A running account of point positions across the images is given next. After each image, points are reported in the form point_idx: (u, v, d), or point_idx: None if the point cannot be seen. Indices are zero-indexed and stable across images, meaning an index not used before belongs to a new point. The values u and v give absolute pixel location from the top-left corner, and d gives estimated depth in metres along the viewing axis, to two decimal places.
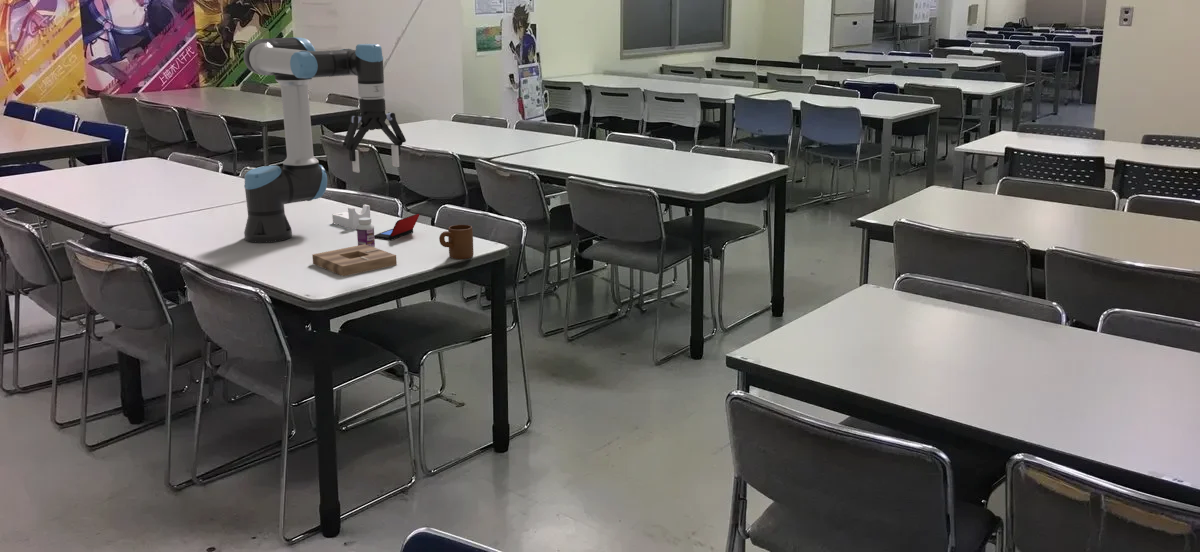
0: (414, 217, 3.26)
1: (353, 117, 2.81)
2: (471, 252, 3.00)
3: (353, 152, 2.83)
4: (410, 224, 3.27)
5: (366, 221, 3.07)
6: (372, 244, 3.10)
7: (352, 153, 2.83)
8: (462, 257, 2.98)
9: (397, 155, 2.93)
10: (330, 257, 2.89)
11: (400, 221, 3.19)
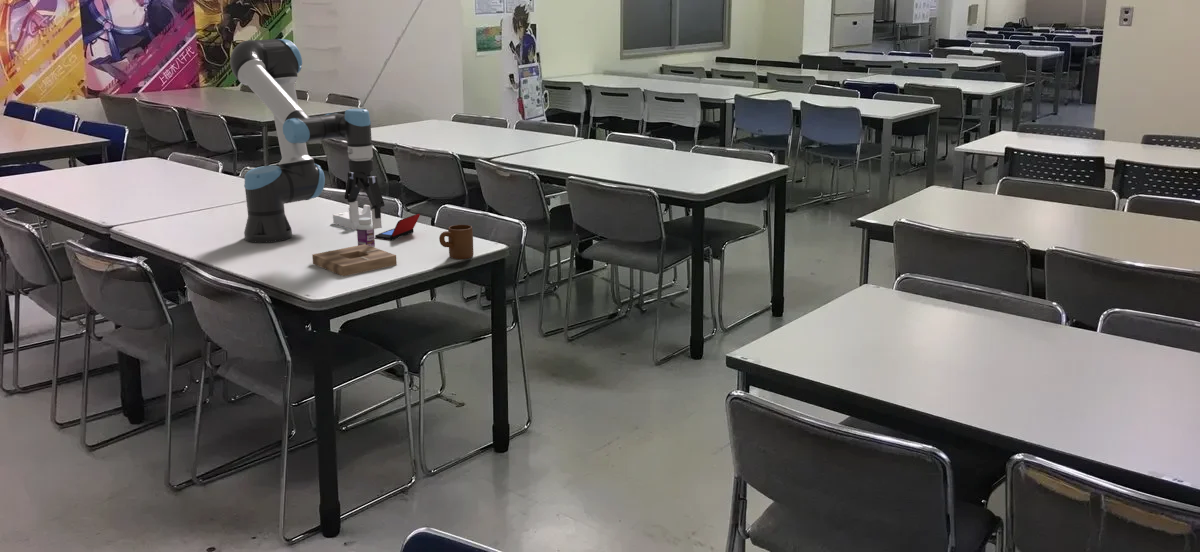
0: (415, 217, 3.26)
1: None
2: (471, 252, 3.00)
3: None
4: (411, 224, 3.27)
5: (366, 221, 3.07)
6: (372, 244, 3.10)
7: None
8: (462, 257, 2.98)
9: (372, 217, 3.02)
10: (330, 257, 2.89)
11: (401, 221, 3.19)
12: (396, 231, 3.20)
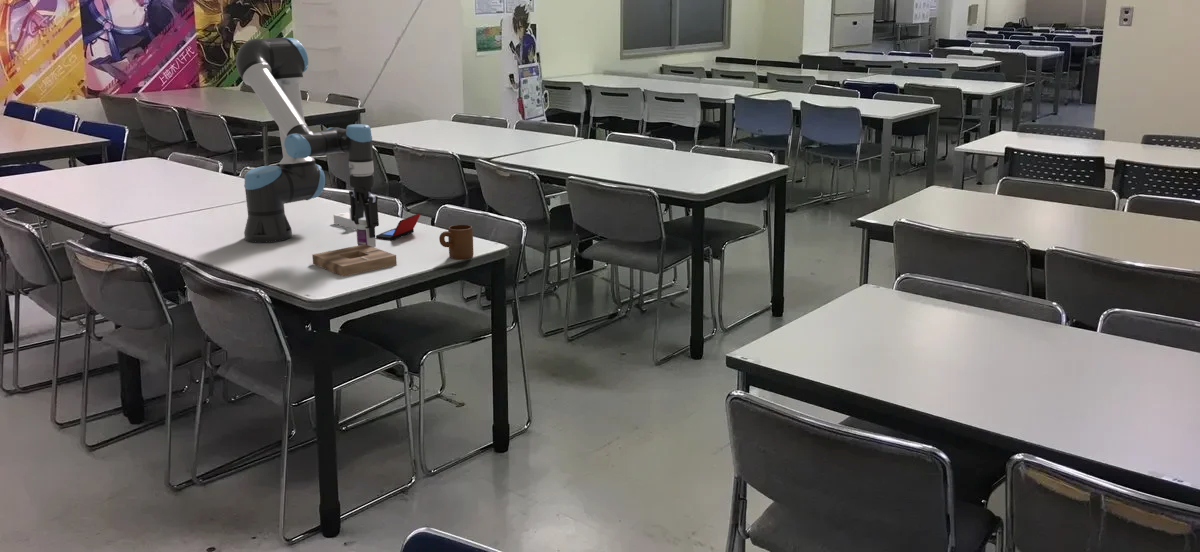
0: (415, 217, 3.26)
1: None
2: (471, 252, 3.00)
3: (357, 225, 3.12)
4: (411, 224, 3.27)
5: None
6: None
7: (356, 226, 3.12)
8: (462, 257, 2.98)
9: (367, 237, 3.07)
10: (330, 257, 2.89)
11: (402, 221, 3.19)
12: (397, 231, 3.20)
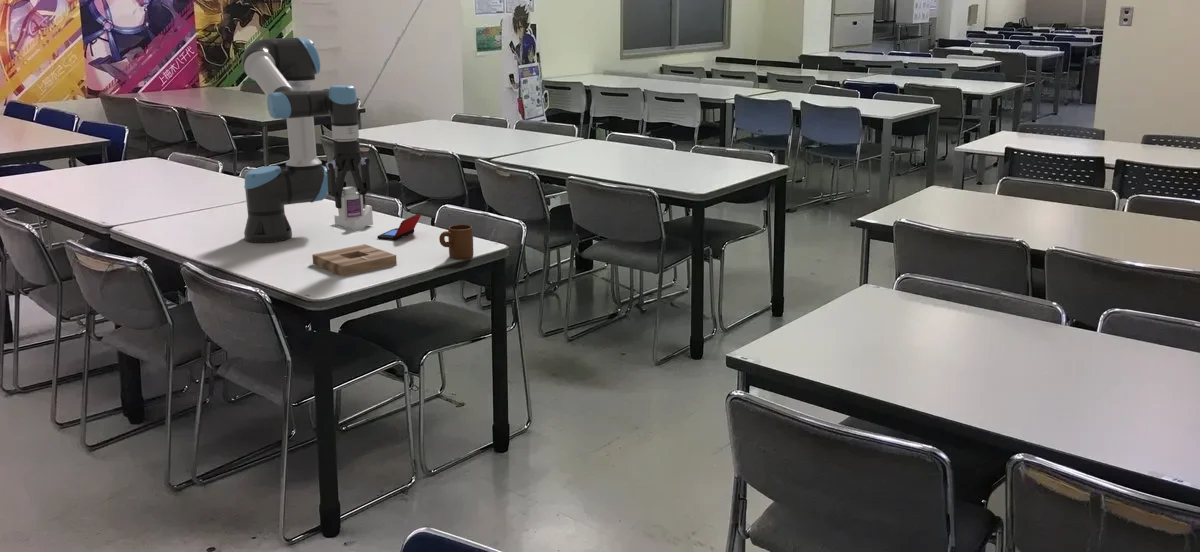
0: (416, 217, 3.26)
1: (327, 165, 2.79)
2: (471, 252, 3.00)
3: (339, 199, 2.83)
4: (412, 224, 3.27)
5: None
6: None
7: (338, 200, 2.83)
8: (462, 257, 2.98)
9: (361, 204, 2.88)
10: (330, 257, 2.89)
11: (404, 221, 3.19)
12: (399, 231, 3.20)
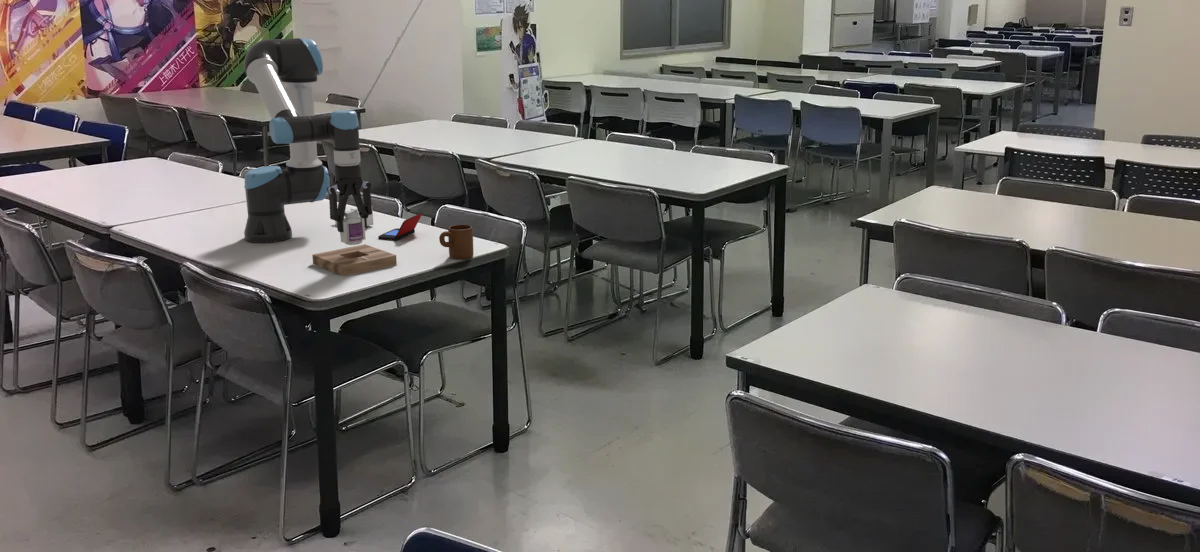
0: (417, 217, 3.26)
1: (329, 189, 2.81)
2: (471, 252, 3.00)
3: (341, 223, 2.85)
4: (413, 224, 3.27)
5: None
6: None
7: (340, 224, 2.85)
8: (462, 257, 2.98)
9: (363, 228, 2.90)
10: (330, 257, 2.89)
11: (406, 221, 3.19)
12: (400, 231, 3.20)
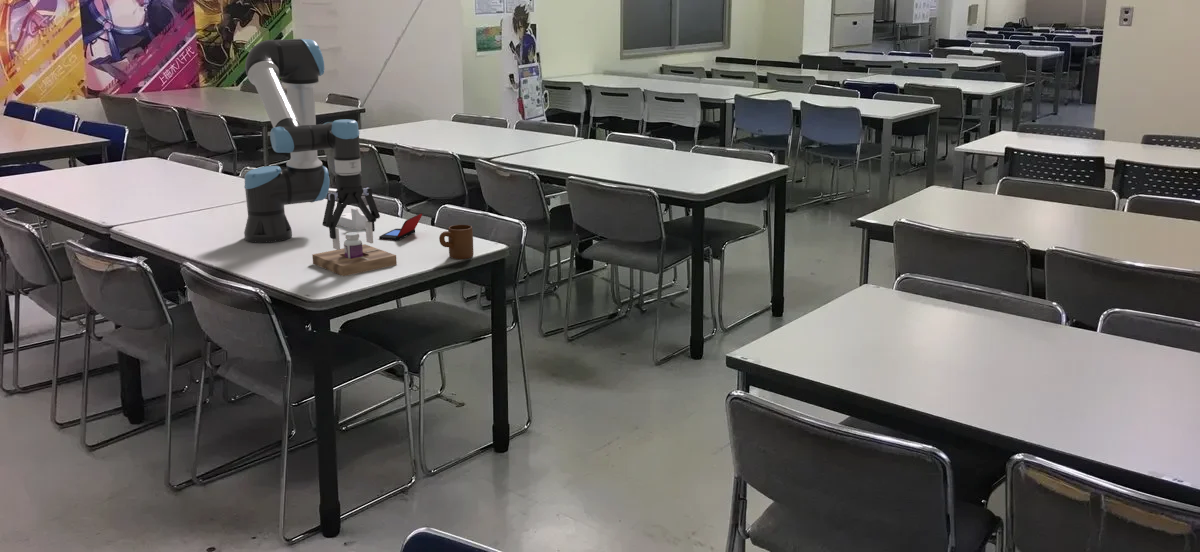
0: (418, 217, 3.26)
1: (329, 195, 2.81)
2: (471, 252, 3.00)
3: (333, 230, 2.84)
4: (414, 224, 3.27)
5: None
6: None
7: (332, 231, 2.84)
8: (462, 257, 2.98)
9: (371, 231, 2.92)
10: (330, 257, 2.89)
11: (407, 221, 3.19)
12: (402, 231, 3.20)
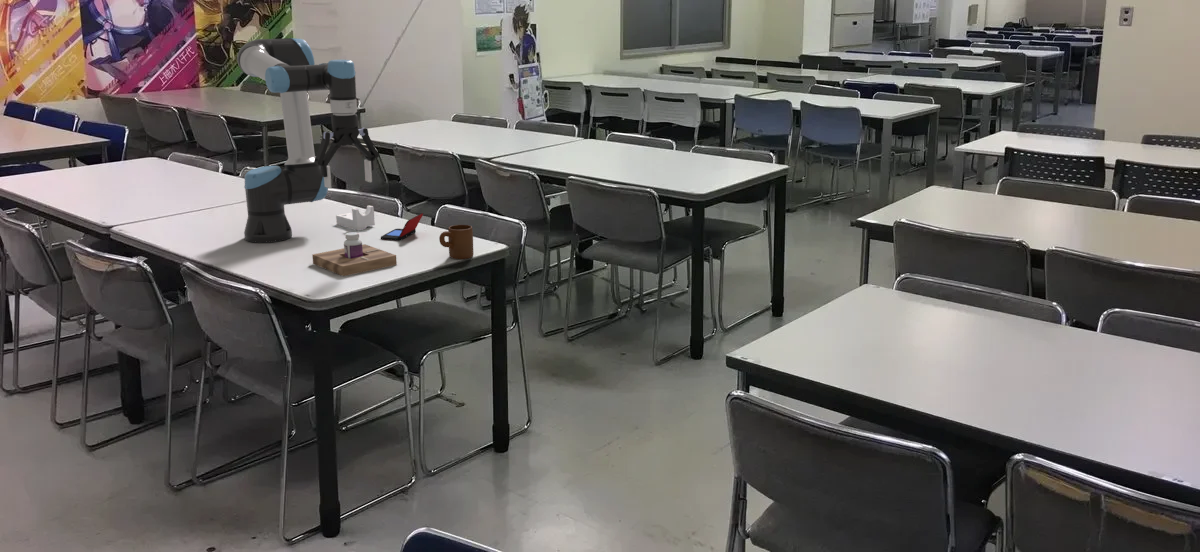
0: (419, 217, 3.26)
1: (325, 133, 2.81)
2: (471, 252, 3.00)
3: (325, 168, 2.83)
4: (415, 224, 3.27)
5: None
6: None
7: (324, 169, 2.83)
8: (462, 257, 2.98)
9: (370, 170, 2.93)
10: (330, 257, 2.89)
11: (409, 221, 3.19)
12: (404, 231, 3.20)
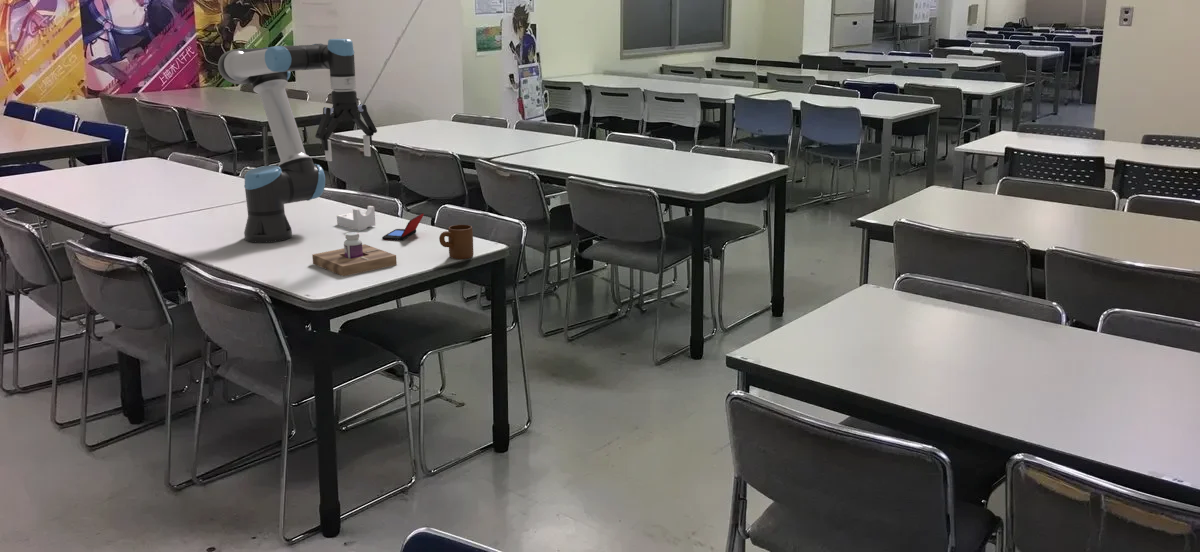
0: (420, 217, 3.26)
1: (325, 108, 2.95)
2: (471, 252, 3.00)
3: (326, 142, 2.97)
4: (416, 224, 3.27)
5: None
6: None
7: (325, 143, 2.97)
8: (462, 257, 2.98)
9: (368, 145, 3.07)
10: (330, 257, 2.89)
11: (411, 221, 3.19)
12: (406, 231, 3.20)
